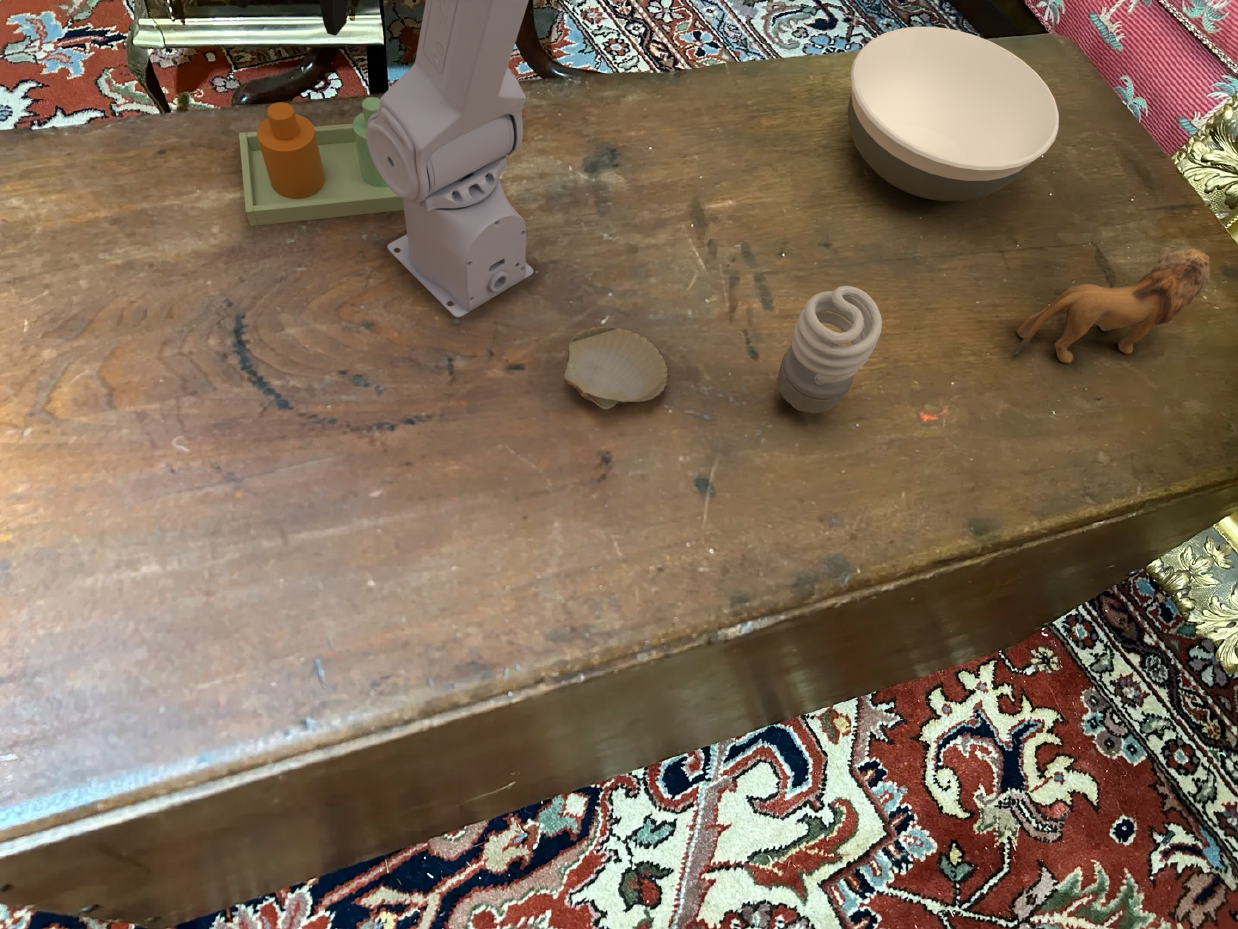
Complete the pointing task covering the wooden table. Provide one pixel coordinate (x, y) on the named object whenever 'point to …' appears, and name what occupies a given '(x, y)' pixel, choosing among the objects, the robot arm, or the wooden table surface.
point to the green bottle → (360, 131)
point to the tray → (334, 199)
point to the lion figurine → (1125, 303)
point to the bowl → (947, 113)
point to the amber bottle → (290, 152)
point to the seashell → (615, 367)
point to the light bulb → (828, 348)
